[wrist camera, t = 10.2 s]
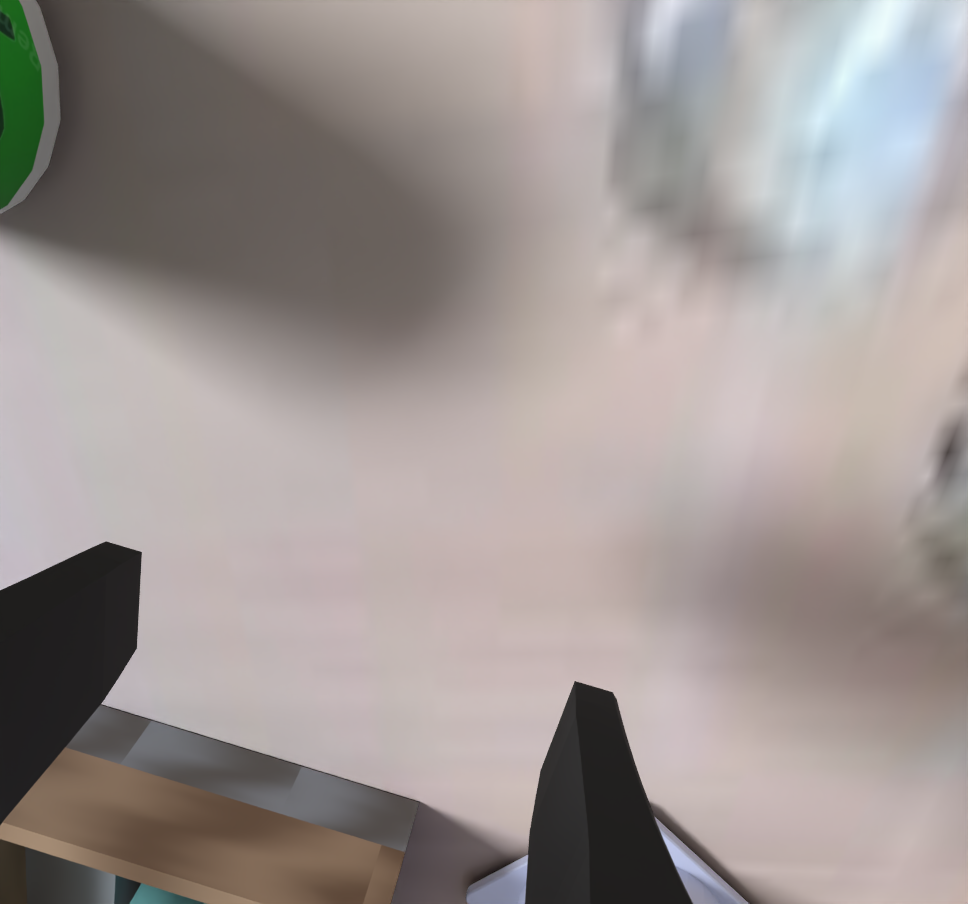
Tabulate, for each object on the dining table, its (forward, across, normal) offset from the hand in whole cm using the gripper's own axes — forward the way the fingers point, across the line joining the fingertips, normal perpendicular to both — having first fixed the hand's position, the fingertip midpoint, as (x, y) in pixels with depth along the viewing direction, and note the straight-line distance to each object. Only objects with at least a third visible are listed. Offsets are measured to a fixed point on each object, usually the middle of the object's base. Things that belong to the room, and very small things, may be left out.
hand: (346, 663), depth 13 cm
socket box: (+10, +5, +22) cm, 24 cm away
